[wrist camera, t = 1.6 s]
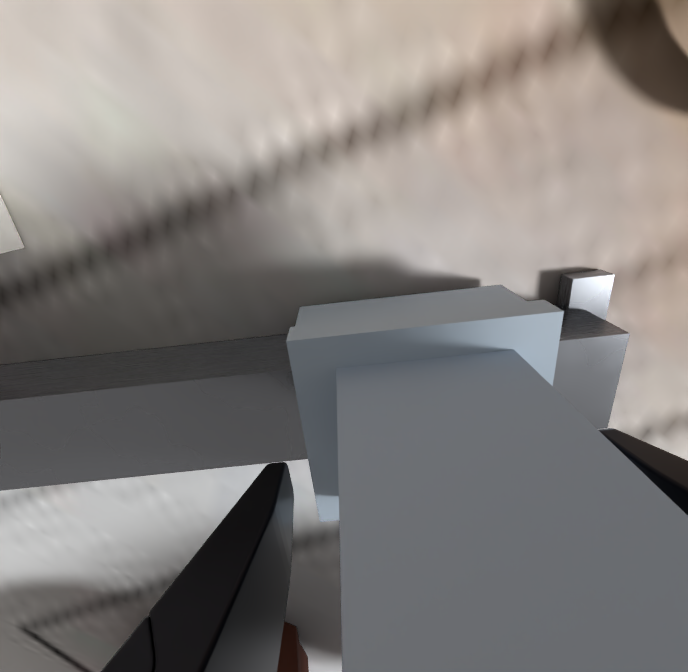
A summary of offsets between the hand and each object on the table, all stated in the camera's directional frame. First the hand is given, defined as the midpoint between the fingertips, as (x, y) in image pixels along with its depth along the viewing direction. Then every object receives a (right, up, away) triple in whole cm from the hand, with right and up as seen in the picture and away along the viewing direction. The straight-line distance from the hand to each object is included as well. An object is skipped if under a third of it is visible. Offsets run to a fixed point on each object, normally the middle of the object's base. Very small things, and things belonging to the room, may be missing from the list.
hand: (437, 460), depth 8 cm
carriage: (0, +2, +4) cm, 4 cm away
